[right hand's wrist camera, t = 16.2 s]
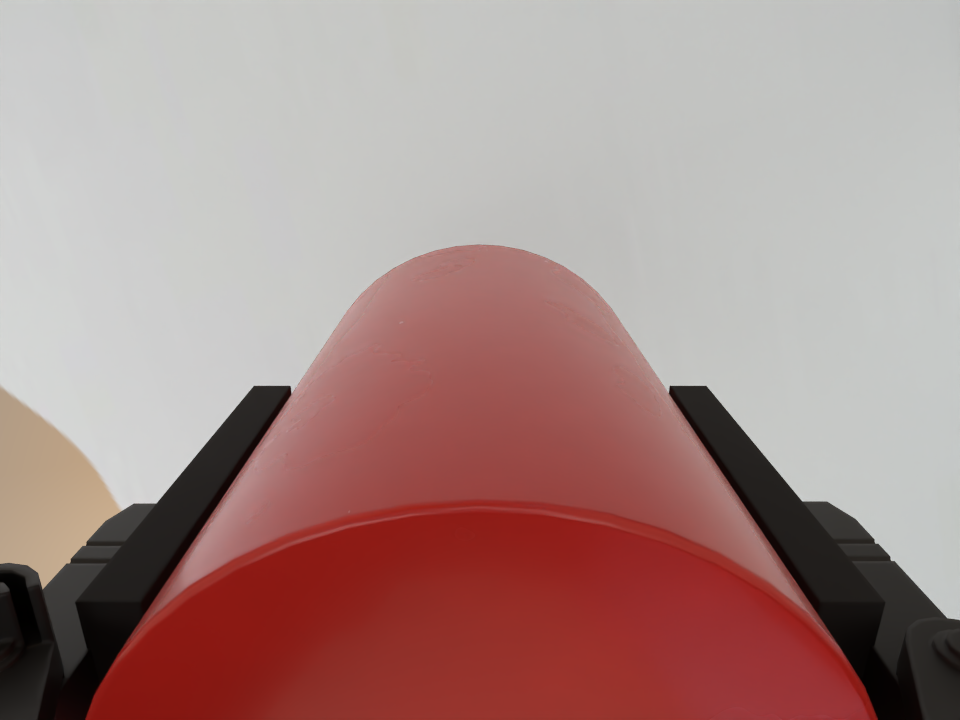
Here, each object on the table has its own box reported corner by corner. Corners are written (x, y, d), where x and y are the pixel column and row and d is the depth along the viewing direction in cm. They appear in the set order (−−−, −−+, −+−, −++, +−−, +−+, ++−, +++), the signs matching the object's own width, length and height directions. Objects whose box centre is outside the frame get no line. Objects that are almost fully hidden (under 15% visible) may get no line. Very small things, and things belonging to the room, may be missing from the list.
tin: (627, 221, 15) (932, 445, 5) (646, 515, 18) (868, 1052, 8) (289, 268, 15) (-75, 567, 5) (357, 550, 18) (203, 1105, 8)
